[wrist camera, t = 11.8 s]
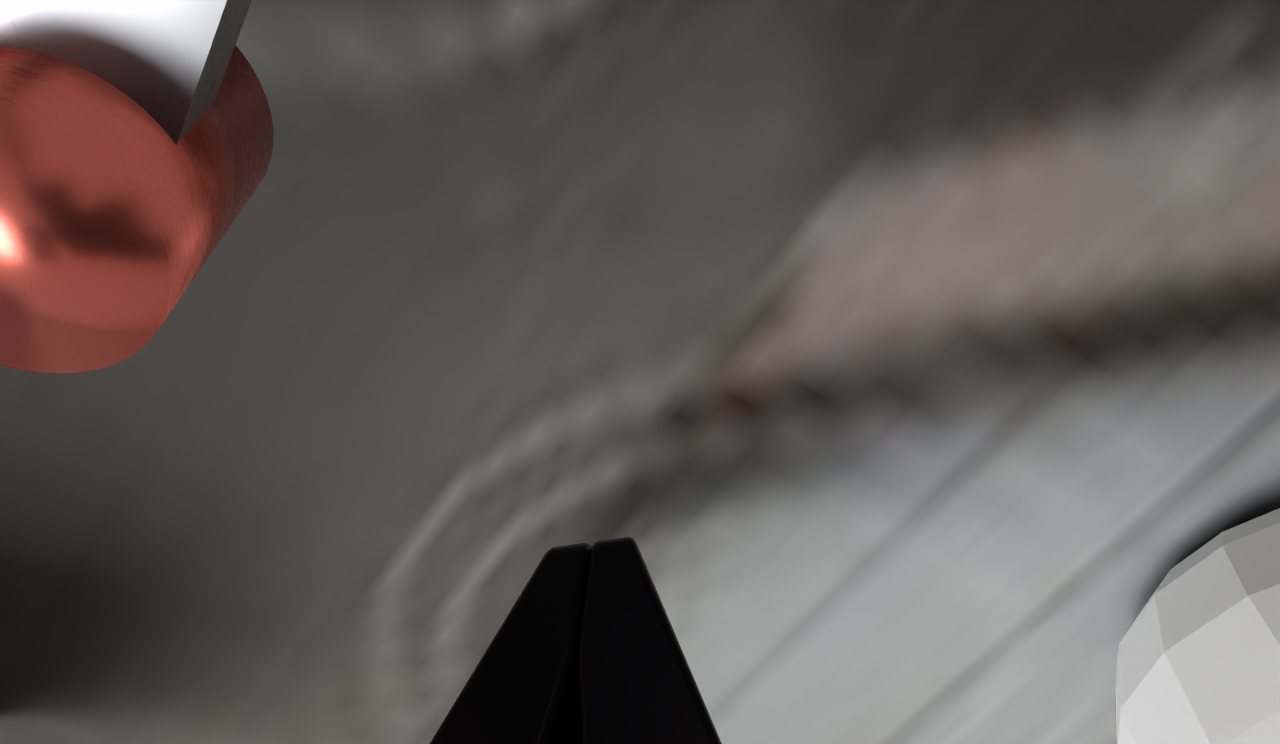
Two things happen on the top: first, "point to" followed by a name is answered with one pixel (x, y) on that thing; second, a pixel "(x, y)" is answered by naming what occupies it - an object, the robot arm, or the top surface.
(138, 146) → the lever
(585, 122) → the top surface
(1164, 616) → the white faceted vase
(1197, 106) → the top surface
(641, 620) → the robot arm
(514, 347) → the top surface
